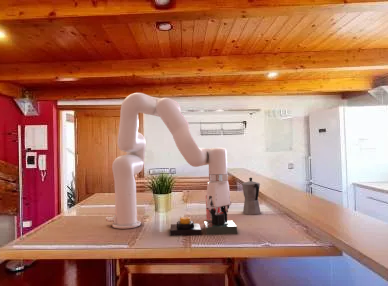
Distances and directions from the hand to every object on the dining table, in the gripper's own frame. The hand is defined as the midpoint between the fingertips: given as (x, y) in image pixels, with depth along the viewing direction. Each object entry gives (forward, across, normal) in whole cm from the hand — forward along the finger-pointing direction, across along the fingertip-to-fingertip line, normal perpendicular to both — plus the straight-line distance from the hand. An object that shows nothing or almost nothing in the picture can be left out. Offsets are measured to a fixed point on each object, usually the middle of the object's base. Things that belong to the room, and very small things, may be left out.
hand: (219, 222), depth 130 cm
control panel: (+3, 0, 0) cm, 3 cm away
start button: (0, +10, -9) cm, 14 cm away
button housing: (+3, +10, -9) cm, 14 cm away
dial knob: (0, 0, 0) cm, 0 cm away
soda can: (+4, -13, -14) cm, 19 cm away
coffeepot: (+4, -37, -10) cm, 38 cm away
